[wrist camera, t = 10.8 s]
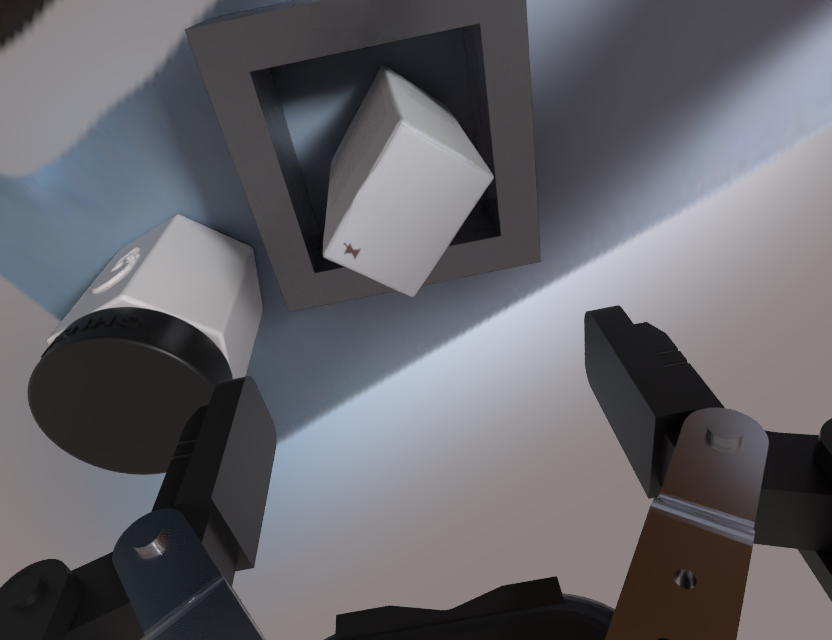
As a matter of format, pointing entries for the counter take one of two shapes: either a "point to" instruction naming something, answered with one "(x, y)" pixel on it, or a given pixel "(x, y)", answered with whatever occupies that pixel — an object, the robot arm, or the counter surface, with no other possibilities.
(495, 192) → the socket block
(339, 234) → the skincare box
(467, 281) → the counter surface
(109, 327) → the jar
